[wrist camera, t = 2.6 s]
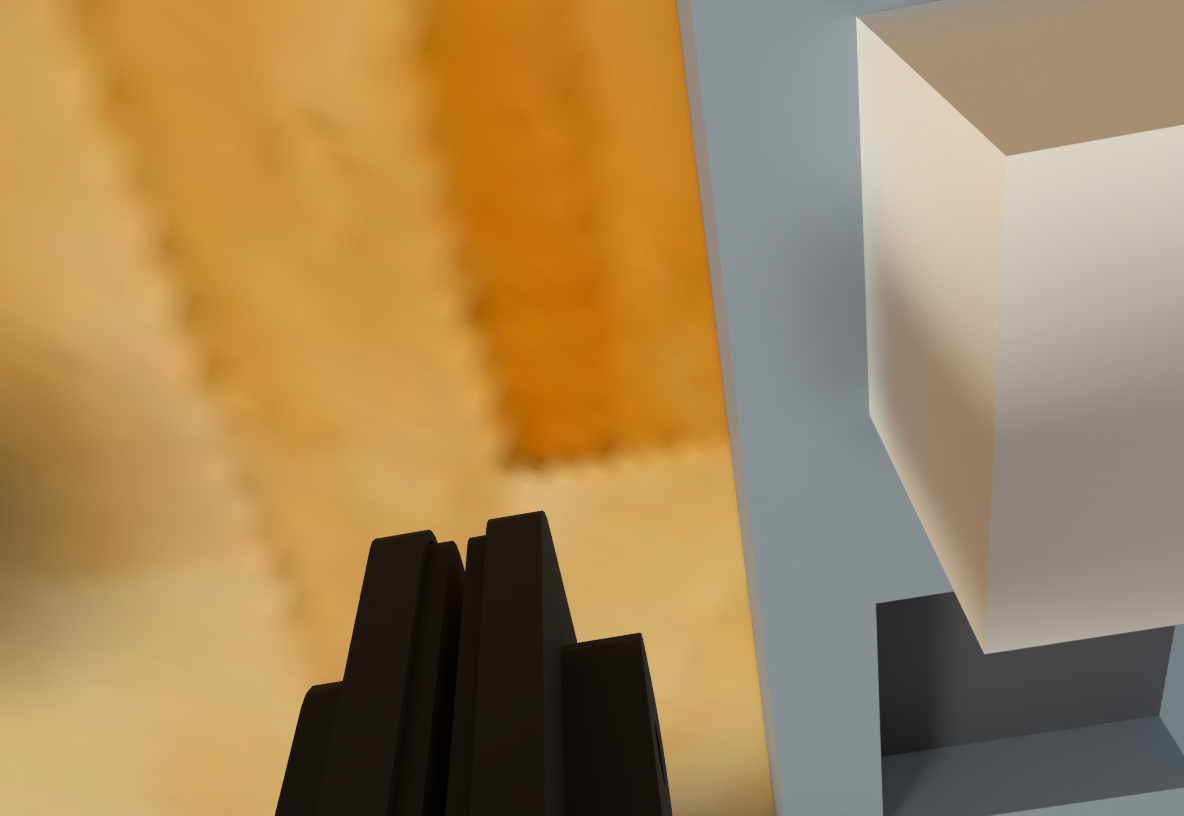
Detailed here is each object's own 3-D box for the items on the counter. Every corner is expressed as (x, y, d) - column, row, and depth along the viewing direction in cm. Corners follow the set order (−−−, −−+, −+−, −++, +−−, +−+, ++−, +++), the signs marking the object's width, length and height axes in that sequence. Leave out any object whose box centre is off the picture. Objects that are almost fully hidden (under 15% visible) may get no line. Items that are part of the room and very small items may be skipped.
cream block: (856, 16, 13) (1006, 157, 9) (1353, -77, 13) (1748, 23, 9) (869, 415, 16) (984, 654, 12) (1267, 348, 16) (1524, 572, 12)
